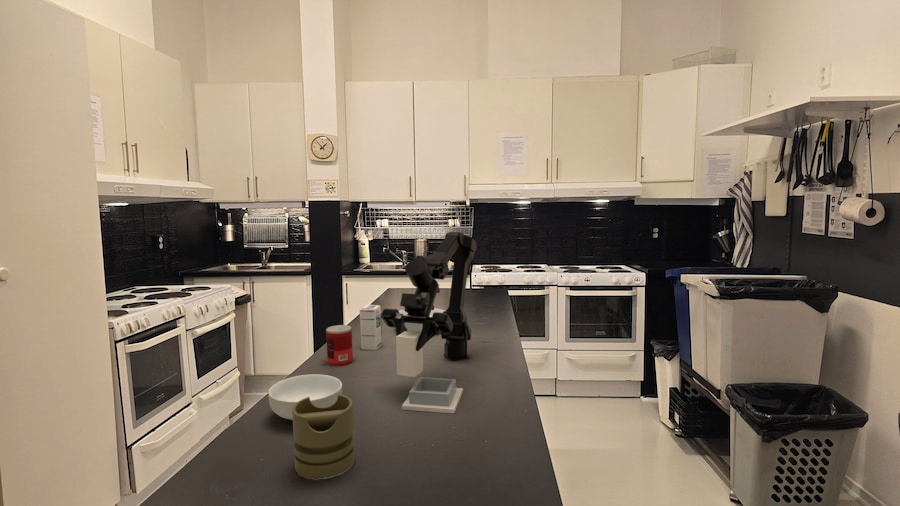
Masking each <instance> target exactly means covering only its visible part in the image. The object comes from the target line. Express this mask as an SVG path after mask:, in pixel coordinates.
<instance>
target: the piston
mask: <svg viewBox="0 0 900 506" xmlns="http://www.w3.org/2000/svg"><path fill="white" fill-rule="evenodd" d="M353 403H354V402H353V399H351V398H350V397H349V396H347V395H344V394H342V395H341V394H338V398H337V400H336V402H335V403H334V404H332V405H330V406H328V407H318V406H315V405H314V404H312V402H311V401H310V398H309V397H307V398H304V399H302V400H300V401H298V402H297V403H296V404H295V405H294V406H293V408H292V416H293V420H292V431H293V432H292V434H293V436H292V437H293V441H294V443H293V452H294V470H296V471H295V473H296V472H297V473H298V474H299V475H300V476H302V477H305V478H311V479H312V478H313V479H319V478H324V477H330V476H334V475H337V474H339V473H342V472H344V471H345V470H347V469H348V468H349V467H350V466H351V465H352V464H353V462H354V459H355V436H354V408H353V405H354V404H353ZM354 463H355V462H354ZM297 473H296V474H297ZM298 474H297V475H298ZM299 475H298V476H299ZM300 476H299V477H300ZM302 477H301V478H302Z"/></svg>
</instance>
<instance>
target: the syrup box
mask: <svg viewBox="0 0 900 506" xmlns="http://www.w3.org/2000/svg"><path fill="white" fill-rule="evenodd" d="M381 308H382V307H381V305H379V304H365V305H364V306H363V307H361V308H359V325H360V341H361V342H360V345H361V346H360V347H361V350H366V351H378V349H379V348H381V347H382V346H383V345H384V344H383V329H382V328H383V327H382V325H383V324H382V318H381V314H382V309H381Z"/></svg>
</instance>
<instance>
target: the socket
mask: <svg viewBox="0 0 900 506" xmlns="http://www.w3.org/2000/svg"><path fill="white" fill-rule="evenodd" d="M408 393H409V394H408V396H407V397H406V399H405V401H404V402H403V403H402V405H401V410H403V411H416V412H430V413H443V414H455V413H456V411H457V408H458V405H459V403H460V400H461V399H462V396H463V393H464V388H462V387H460V388H459V387H457V379H456V378H440V377H422V376H419V377H418V378H417V380H416V381H415V382H414V384H413V385H412V387H411V389H410V390H409V392H408Z"/></svg>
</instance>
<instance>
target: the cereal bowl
mask: <svg viewBox="0 0 900 506" xmlns="http://www.w3.org/2000/svg"><path fill="white" fill-rule="evenodd" d="M342 383H343V382H342V381H341V380H340V379H339V378H337V377H335V376H332V375H327V374H318V373H317V374H313V373H312V374H310V373H309V374H302V375H301V374H300V375H294V376H291V377H288V378H285V379H281V380H279V381H278V382H276V383H275V384H273V385H272V386H271V387H270V388H269V390H268V393H267V396H268V402H269V405H270V408H271V410H272V411H273V412H274V414H276V415H277V416H279V417H281V418H283V419H287V420H290V421H293V416H292V408H293V406H294V405H295V404H296V403H297V402H298V401H300V400H302V399H304V398H307V397H309V398H310V401H311V402H312V404H314V405H315V406H318V407H328V406H330V405H332V404H334V403H335V402H336V400H337V398H338V394H341V395H343V394H342V393H343V384H342Z"/></svg>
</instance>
